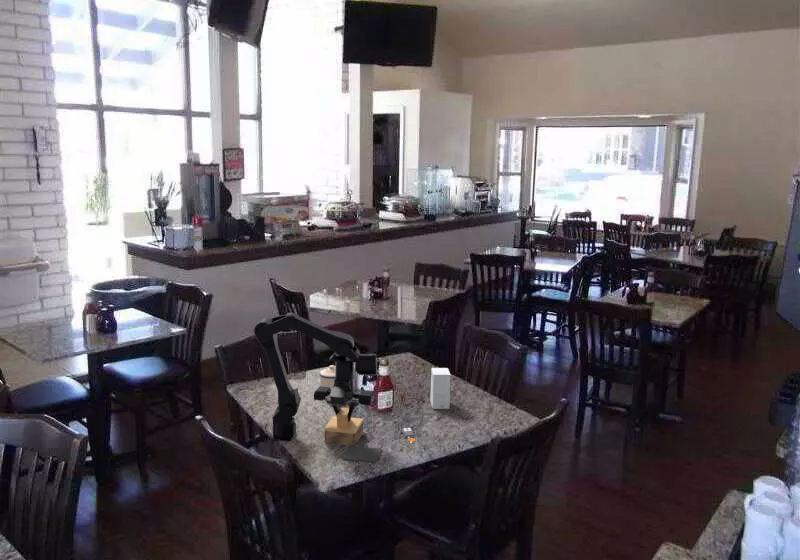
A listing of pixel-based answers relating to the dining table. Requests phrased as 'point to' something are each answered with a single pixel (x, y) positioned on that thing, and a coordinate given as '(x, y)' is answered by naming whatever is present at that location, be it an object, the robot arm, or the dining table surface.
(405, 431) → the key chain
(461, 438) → the dining table surface
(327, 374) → the teacup with lid
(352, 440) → the walnut box
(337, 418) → the lid
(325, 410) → the dining table surface
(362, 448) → the rubber mat
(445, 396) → the small box
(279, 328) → the robot arm
